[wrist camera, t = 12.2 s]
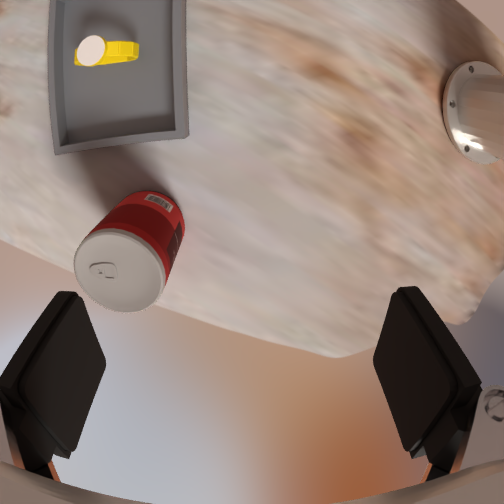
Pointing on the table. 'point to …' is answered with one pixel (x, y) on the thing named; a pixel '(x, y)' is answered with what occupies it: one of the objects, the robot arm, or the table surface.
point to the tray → (117, 74)
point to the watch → (104, 51)
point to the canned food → (131, 253)
